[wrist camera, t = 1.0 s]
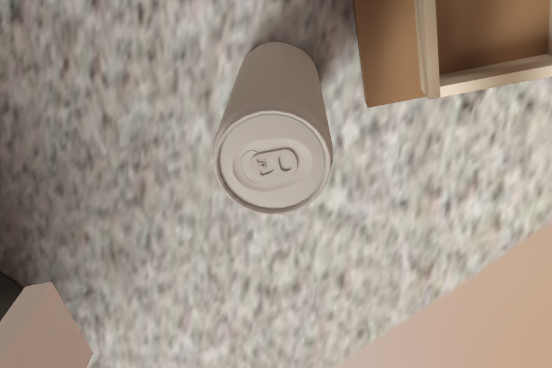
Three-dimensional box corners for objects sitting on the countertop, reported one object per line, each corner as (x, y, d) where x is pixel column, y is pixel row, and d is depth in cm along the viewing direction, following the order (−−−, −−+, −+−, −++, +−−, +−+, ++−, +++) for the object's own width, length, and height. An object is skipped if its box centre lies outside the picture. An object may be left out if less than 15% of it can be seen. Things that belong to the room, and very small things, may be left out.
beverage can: (230, 47, 28) (194, 119, 17) (310, 30, 27) (324, 94, 17) (249, 122, 30) (227, 227, 20) (323, 108, 30) (343, 208, 19)
